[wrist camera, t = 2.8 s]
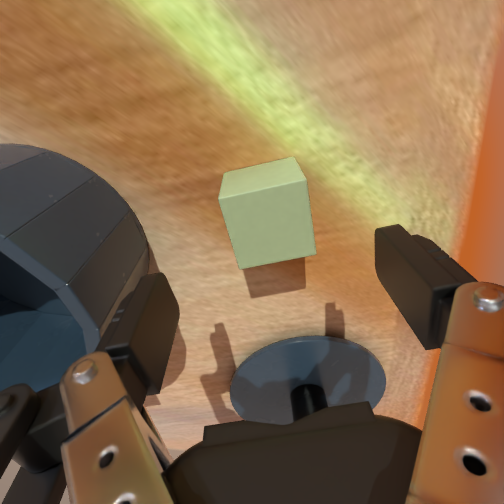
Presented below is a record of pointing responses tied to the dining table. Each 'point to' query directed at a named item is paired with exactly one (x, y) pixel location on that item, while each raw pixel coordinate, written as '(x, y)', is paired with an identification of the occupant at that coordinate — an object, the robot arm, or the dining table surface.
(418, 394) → the dining table surface
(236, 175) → the block
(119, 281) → the pot
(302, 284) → the dining table surface
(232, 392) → the lid
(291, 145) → the dining table surface
